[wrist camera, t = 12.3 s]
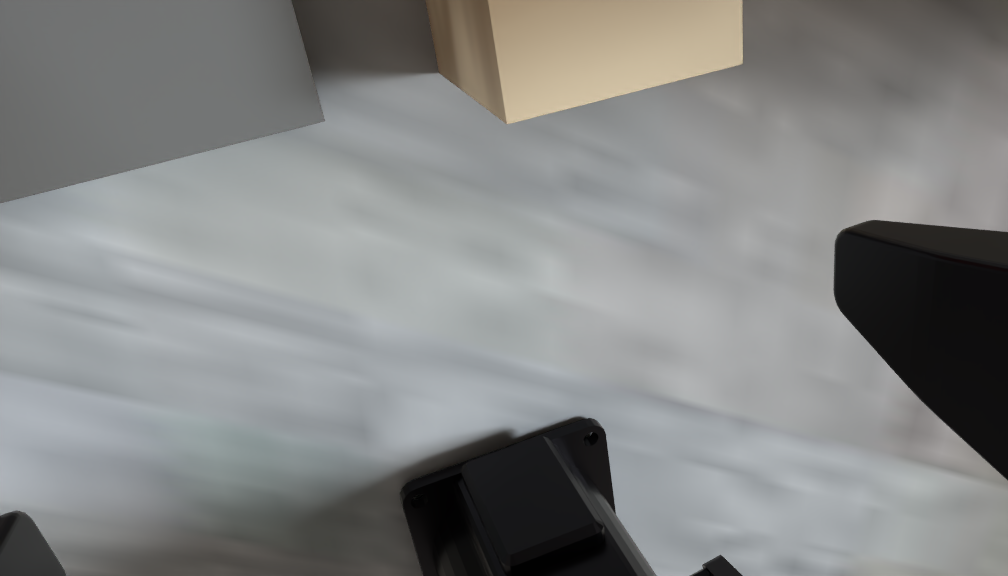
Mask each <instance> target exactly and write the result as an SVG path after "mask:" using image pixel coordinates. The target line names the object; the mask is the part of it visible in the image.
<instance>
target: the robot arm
mask: <svg viewBox="0 0 1008 576" xmlns="http://www.w3.org/2000/svg"><path fill="white" fill-rule="evenodd" d="M834 297H835V300H836V303H837V306H838V307H839V309H840V311H841V312H842V313H843V315H844V316H845V317H846V318H847V319H848V320H849V321H850V322H851V324H852V325H853V326H854V327H855V328H856V329H857V330H858V331H859V332H860V334H861V335H862V336H863V337H864V338H865V339H866V340H867V341H868V343H869V344H870V345H871V346H872V347H873V348H874V349H875V350H876V351H877V353H878V354H879V355H880V356H881V357H882V358H883V359H884V360H885V361H886V363H887V364H888V365H889V366H890V367H891V368H892V369H893V370H894V372H895V373H896V374H897V375H898V376H899V377H900V378H901V379H902V380H903V382H904V383H905V384H906V385H907V386H908V387H909V388H910V389H911V390H912V391H913V392H914V393H915V395H916V396H917V397H918V398H919V399H920V400H921V401H922V402H923V403H924V404H925V405H926V406H927V407H928V408H929V409H930V410H931V411H932V412H933V413H935V414H936V415H937V416H938V417H939V418H940V419H941V420H942V421H943V422H944V423H945V424H946V425H947V426H949V427H950V428H951V429H952V430H953V431H954V432H955V433H956V434H957V435H958V436H960V437H961V438H962V439H963V440H964V441H965V442H966V443H967V444H968V445H969V446H970V447H972V448H973V449H974V450H975V451H976V452H977V453H978V454H979V455H980V456H981V457H982V458H984V459H985V460H986V461H987V462H988V463H989V464H990V465H991V466H992V467H993V468H995V469H996V470H997V471H998V472H999V473H1000V474H1001V475H1002V476H1003V477H1004V478H1005V479H1007V480H1008V232H1001V231H990V230H979V229H968V228H957V227H946V226H935V225H924V224H913V223H902V222H891V221H880V220H870V221H866V222H863V223H860V224H857V225H854V226H851V227H848V228H846V229H843V230H842V231H841V232H840V233H839V234H838V235H837V238H836V240H835V254H834ZM592 432H593V433H592ZM589 433H592V434H591V435H590V436H589V437H588V438H584V437H585V436H586V435H587V434H589ZM420 494H423V496H422V497H421V498H419V499H416V500H413V497H415V496H417V495H420ZM400 500H401V503H402V506H403V510H404V513H405V516H406V520H407V523H408V526H409V529H410V533H411V536H412V539H413V543H414V546H415V549H416V553H417V556H418V559H419V563H420V566H421V569H422V573H423V576H656V574H655V573H654V571H653V570H652V568H651V567H650V565H649V564H648V562H647V561H646V559H645V558H644V556H643V555H642V553H641V552H640V550H639V549H638V547H637V546H636V544H635V543H634V541H633V540H632V538H631V537H630V535H629V534H628V532H627V531H626V529H625V528H624V526H623V525H622V523H621V522H620V520H619V519H618V517H617V516H616V512H615V504H614V496H613V488H612V481H611V473H610V465H609V457H608V449H607V441H606V434H605V431H604V429H603V428H602V426H601V425H600V424H599V422H598V421H596V420H595V419H591V418H588V419H583V420H580V421H577V422H575V423H572V424H569V425H566V426H563V427H561V428H558V429H555V430H552V431H549V432H547V433H544V434H541V435H538V436H535V437H533V438H530V439H527V440H524V441H521V442H519V443H516V444H513V445H510V446H507V447H505V448H502V449H499V450H496V451H493V452H490V453H488V454H485V455H482V456H479V457H476V458H474V459H471V460H468V461H465V462H462V463H460V464H457V465H454V466H451V467H448V468H446V469H443V470H440V471H437V472H434V473H432V474H429V475H426V476H423V477H420V478H418V479H415V480H412V481H410V482H408V483H407V484H406V485H405V486H404V487H403V488H402V490H401V492H400ZM702 566H703V569H701V570H699V571H698V572H696V573H694V574H692V575H690V576H742V575H741V574H740V573H739V572H738V571H737V570H736V569H735V568H734V567H733V566H732V565H731V564H730V563H729V562H728V561H727V560H726V559H725V558H724V557H723V556H721V555H719V556H717V557H716V558H714V559H712V560H710V561H708V562H706V563H705V564H703V565H702ZM0 576H66V574H65V571H64V569H63V567H62V566H61V564H60V562H59V561H58V559H57V558H56V556H55V555H54V553H53V551H52V550H51V548H50V547H49V545H48V543H47V542H46V540H45V539H44V537H43V535H42V534H41V532H40V531H39V529H38V528H37V526H36V524H35V523H34V521H33V520H32V519H31V518H30V517H29V516H28V515H27V514H26V513H24V512H21V511H13V512H9V513H6V514H4V515H1V516H0Z"/></svg>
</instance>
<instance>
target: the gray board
mask: <svg viewBox="0 0 1008 576" xmlns="http://www.w3.org/2000/svg"><path fill="white" fill-rule="evenodd" d="M324 121H325V119H324V116H323V112H322V109H321V105H320V101H319V98H318V94H317V91H316V87H315V83H314V80H313V76H312V72H311V69H310V65H309V62H308V58H307V54H306V51H305V47H304V44H303V40H302V36H301V33H300V29H299V26H298V22H297V18H296V15H295V11H294V8H293V4H292V0H0V203H3V202H7V201H11V200H15V199H19V198H23V197H27V196H31V195H35V194H39V193H43V192H47V191H51V190H55V189H59V188H63V187H67V186H71V185H75V184H78V183H82V182H86V181H90V180H94V179H98V178H102V177H106V176H110V175H114V174H118V173H122V172H126V171H130V170H134V169H138V168H142V167H146V166H150V165H154V164H158V163H162V162H166V161H169V160H173V159H177V158H181V157H185V156H189V155H193V154H197V153H201V152H205V151H209V150H213V149H217V148H221V147H225V146H229V145H233V144H237V143H241V142H245V141H249V140H253V139H257V138H261V137H264V136H268V135H272V134H276V133H280V132H284V131H288V130H292V129H296V128H300V127H304V126H308V125H312V124H316V123H320V122H324Z"/></svg>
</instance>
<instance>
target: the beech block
mask: <svg viewBox="0 0 1008 576" xmlns="http://www.w3.org/2000/svg"><path fill="white" fill-rule="evenodd" d="M425 1H426V6H427V11H428V17H429V22H430V27H431V33H432V38H433V43H434V48H435V54H436V59H437V64H438V69H439V73H440V74H441V75H443V76H444V77H445V78H447V79H448V80H449V81H450V82H452V83H453V84H454V85H456V86H457V87H458V88H460V89H461V90H462V91H464V92H465V93H466V94H468V95H469V96H470V97H472V98H473V99H474V100H476V101H477V102H478V103H479V104H481V105H482V106H483V107H485V108H486V109H487V110H489V111H490V112H491V113H493V114H494V115H495V116H497V117H498V118H499V119H501V120H502V121H503V122H505V123H506V124H511V123H514V122H518V121H522V120H526V119H530V118H534V117H538V116H542V115H546V114H550V113H554V112H557V111H561V110H565V109H569V108H573V107H577V106H581V105H585V104H589V103H593V102H597V101H600V100H604V99H608V98H612V97H616V96H620V95H624V94H628V93H632V92H636V91H640V90H644V89H647V88H651V87H655V86H659V85H663V84H667V83H671V82H675V81H679V80H683V79H687V78H690V77H694V76H698V75H702V74H706V73H710V72H714V71H718V70H722V69H726V68H730V67H733V66H737V65H741V64H743V30H742V0H425Z"/></svg>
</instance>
